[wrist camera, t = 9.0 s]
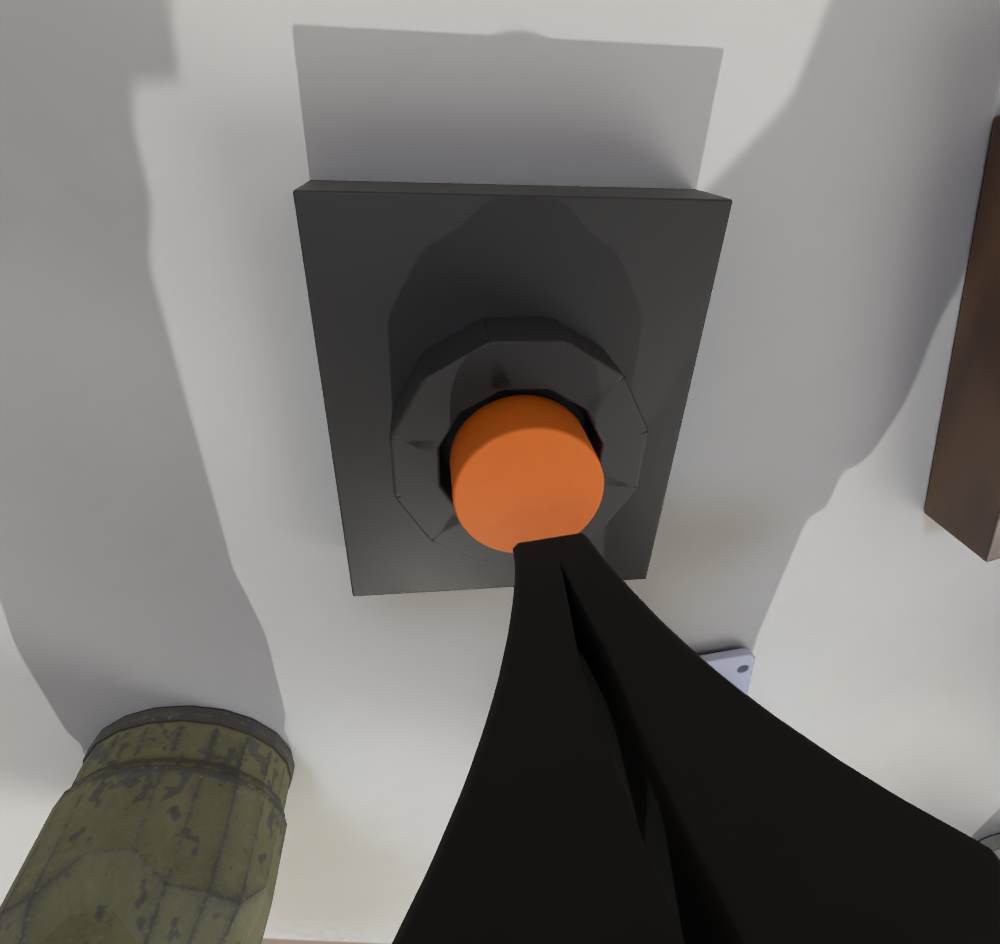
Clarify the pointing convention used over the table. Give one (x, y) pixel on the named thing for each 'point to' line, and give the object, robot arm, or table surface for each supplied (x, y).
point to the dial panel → (974, 391)
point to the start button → (523, 472)
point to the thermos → (160, 837)
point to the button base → (499, 351)
